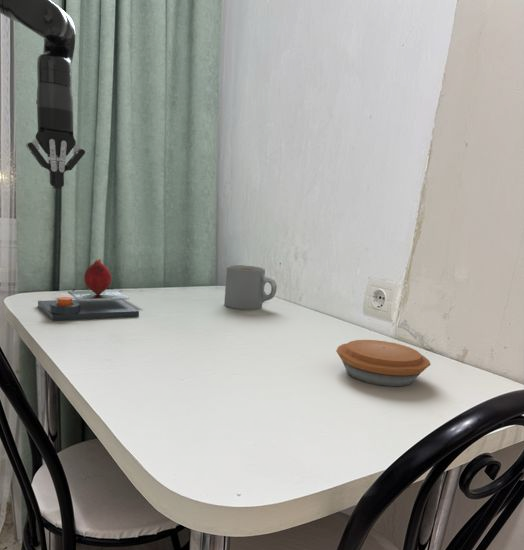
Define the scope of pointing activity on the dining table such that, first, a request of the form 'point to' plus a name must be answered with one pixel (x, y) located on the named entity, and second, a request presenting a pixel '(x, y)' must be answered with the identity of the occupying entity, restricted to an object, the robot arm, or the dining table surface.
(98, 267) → the onion
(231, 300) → the coffee mug
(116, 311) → the scale
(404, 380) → the pie
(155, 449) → the dining table surface
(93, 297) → the weighing plate
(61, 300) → the tare button
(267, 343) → the dining table surface
